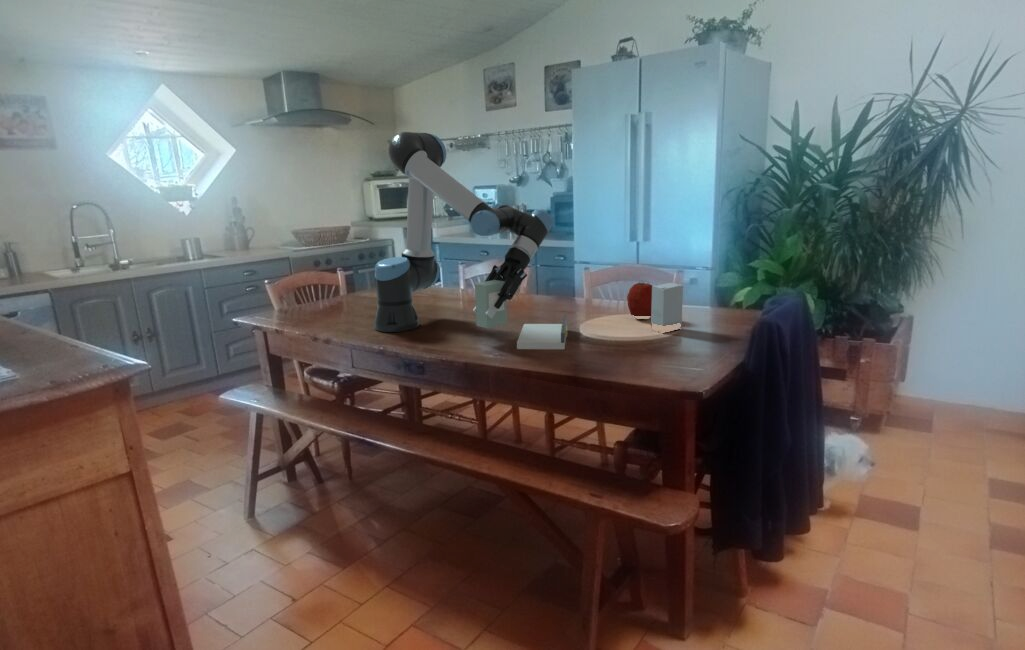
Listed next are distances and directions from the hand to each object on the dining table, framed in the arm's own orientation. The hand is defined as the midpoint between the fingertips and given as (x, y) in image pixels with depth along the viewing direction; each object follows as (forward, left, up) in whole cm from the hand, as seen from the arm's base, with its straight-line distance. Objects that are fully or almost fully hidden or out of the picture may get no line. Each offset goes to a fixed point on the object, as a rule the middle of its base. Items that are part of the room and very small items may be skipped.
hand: (482, 314), depth 178 cm
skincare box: (+32, +50, -10) cm, 60 cm away
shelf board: (+9, +17, -10) cm, 21 cm away
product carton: (0, +4, -4) cm, 5 cm away
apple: (+18, +57, -10) cm, 60 cm away
